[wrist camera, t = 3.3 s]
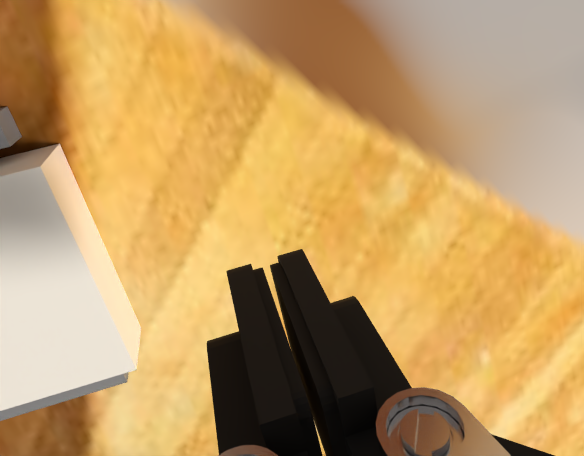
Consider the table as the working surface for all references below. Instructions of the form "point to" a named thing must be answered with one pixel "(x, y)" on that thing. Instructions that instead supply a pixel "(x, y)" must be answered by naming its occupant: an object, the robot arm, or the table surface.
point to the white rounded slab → (56, 286)
